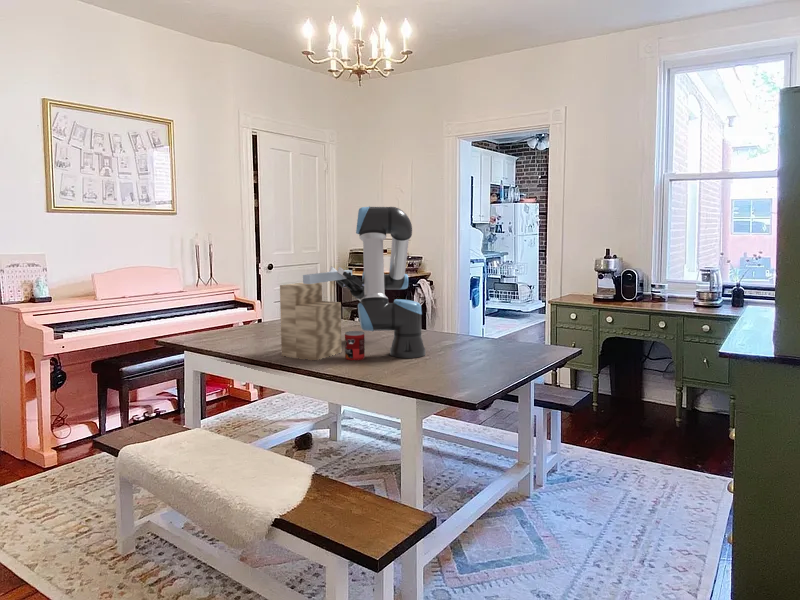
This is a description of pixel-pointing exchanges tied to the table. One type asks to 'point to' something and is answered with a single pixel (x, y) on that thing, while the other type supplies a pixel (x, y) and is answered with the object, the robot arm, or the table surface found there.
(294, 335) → the stand
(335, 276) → the rail
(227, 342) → the table surface
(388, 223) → the robot arm
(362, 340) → the canned food
